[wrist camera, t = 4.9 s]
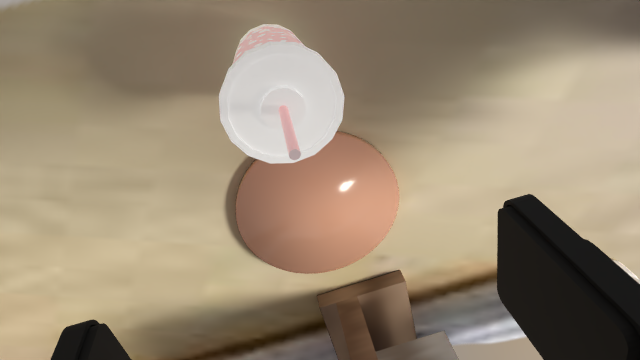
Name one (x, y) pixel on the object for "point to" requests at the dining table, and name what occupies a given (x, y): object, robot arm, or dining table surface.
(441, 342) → the mount stand
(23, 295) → the dining table surface
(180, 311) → the dining table surface
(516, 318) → the robot arm
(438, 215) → the dining table surface
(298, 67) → the beverage cup
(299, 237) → the peach round disc
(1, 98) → the dining table surface
